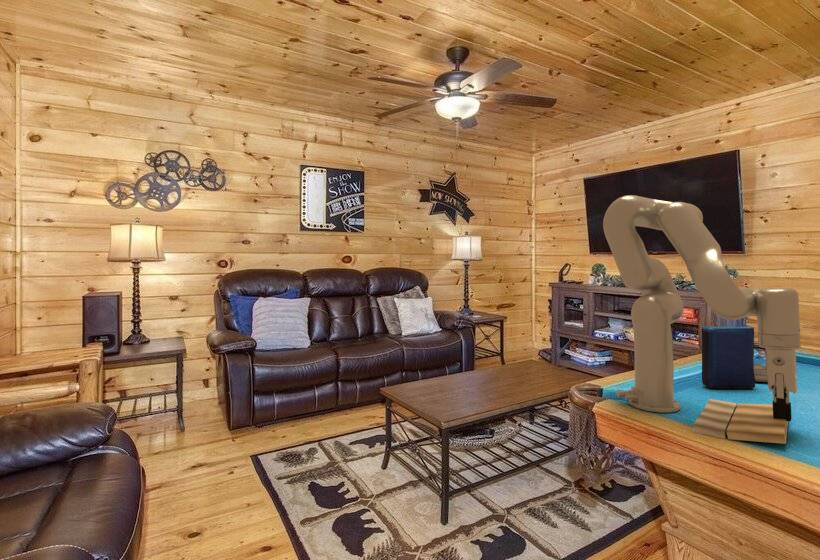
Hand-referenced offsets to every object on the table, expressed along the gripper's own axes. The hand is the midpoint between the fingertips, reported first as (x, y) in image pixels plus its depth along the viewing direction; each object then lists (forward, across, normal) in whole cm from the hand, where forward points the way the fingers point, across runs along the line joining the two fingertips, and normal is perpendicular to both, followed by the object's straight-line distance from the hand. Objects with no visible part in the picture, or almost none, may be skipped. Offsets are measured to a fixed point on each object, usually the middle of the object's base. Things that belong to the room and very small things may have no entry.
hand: (782, 419), depth 100 cm
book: (+3, +35, +14) cm, 38 cm away
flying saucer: (+3, +54, +9) cm, 55 cm away
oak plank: (+2, 0, +4) cm, 5 cm away
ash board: (+3, 0, +13) cm, 13 cm away
